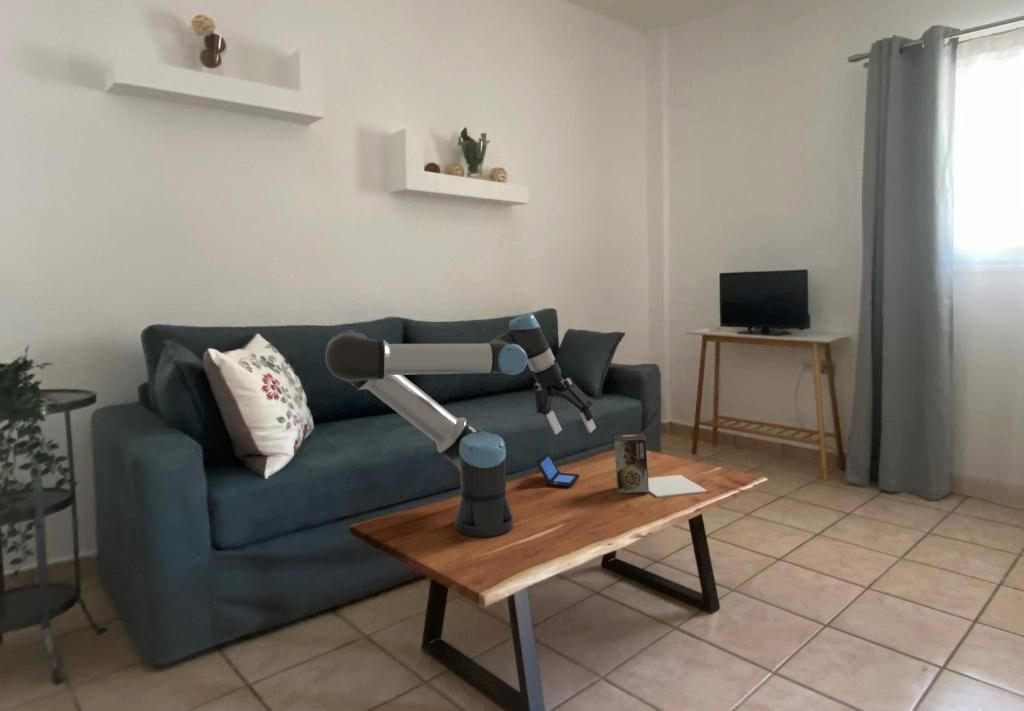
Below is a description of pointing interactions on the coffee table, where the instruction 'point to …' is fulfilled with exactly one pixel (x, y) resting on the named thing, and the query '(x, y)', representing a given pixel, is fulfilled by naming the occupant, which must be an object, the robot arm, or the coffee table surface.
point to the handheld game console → (555, 474)
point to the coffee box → (631, 463)
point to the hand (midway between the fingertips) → (575, 431)
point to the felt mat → (673, 486)
